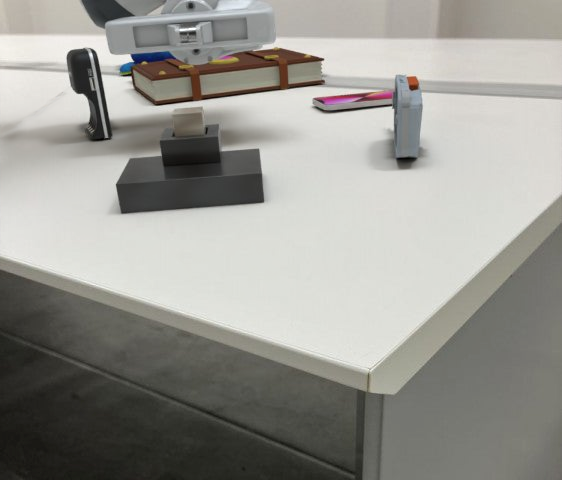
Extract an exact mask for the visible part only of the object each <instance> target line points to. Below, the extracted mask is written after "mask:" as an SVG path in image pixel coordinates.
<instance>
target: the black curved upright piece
mask: <svg viewBox="0 0 562 480" xmlns="http://www.w3.org/2000/svg"><path fill="white" fill-rule="evenodd" d="M65 59H66V67H67V72H68V78H69V83H70V87H71V88H72V91H74V93H75V94H76V95H84V96H85V98H86V99H87V102H88V103H87V104H88V108H89V120H88V124H87V126H86V127H85V128H84V132H85V135H86V136H87V137H88V139H90V140H93V139H94V140H102V139H101V138H104V139H105V138H108V139H109V137H110V138H112V137H113V132H112V126H111V121H110V116H109V110H108V109H109V108H108V104H107V99H106V97H107V96H106V92H105V87H104V81H103V76H102V71H101V70H102V69H101V64H100V60H99V56H98V53H97V51H96V50H95V49H94V48H91V47H87V46H86V47H82V48H74V49H71V50H69V51H68V52H67V54H66V58H65Z"/></svg>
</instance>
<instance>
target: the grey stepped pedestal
mask: <svg viewBox="0 0 562 480" xmlns="http://www.w3.org/2000/svg"><path fill="white" fill-rule="evenodd" d="M205 128H206V133H205V135H191V136H178V137H175V133H174V126H173V127H164V128H163V132H162V134H161V136H160V139H159V140H158V141H159V147H160V155H155V156H142V157H140V156H139V157H130V158H129V159H128V161H127V163H126V165H125V167H124V168H123V170H122V171H121V174H120V175H119V177H118V179H117V181H116V182H115V189H116V194H117V198H118V204H119V210H120V213H121V214H133V213H147V212H159V211H171V210H172V211H173V210H183V209H196V208H197V209H199V208H210V207H224V206H225V207H226V206H236V205H237V206H238V205H248V204H250V205H251V204H261V203H265V194H264V181H263V180H264V179H263V170H262V160H261V152H260V151H261V150H260V148H247V149H235V150H233V149H232V150H223V144H222V135H221V126H220V124H219V123H213V124H205Z"/></svg>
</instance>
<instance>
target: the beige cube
mask: <svg viewBox="0 0 562 480" xmlns="http://www.w3.org/2000/svg"><path fill="white" fill-rule="evenodd" d="M171 118H172V125H173V127H174V133H175V137H178V136H191V135H205V133H206V128H205V125H206V121H205V112H204V106H194V107H193V106H190V107H180V108H178V107H177V108H173V111H172V114H171Z"/></svg>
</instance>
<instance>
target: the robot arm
mask: <svg viewBox="0 0 562 480" xmlns="http://www.w3.org/2000/svg"><path fill="white" fill-rule="evenodd" d="M78 1H79V3H80V5H81V7H82V9H83V11H84V13H85V14H86V15H87V17H88V18H89V19H90V20H91V21H92V23H93V24H94V25H95V27H97V28H100V29H103V30H104V32H105V37H106V42H107V47H108V52H109V53H110V54H111V55H115V56H123V55H124V56H125V55H130V54H139V53H152V52H165V51H169V52H170V53H171V54H172V55H173V56H174V57H175V58H177V59H178V60H180V61H182V62H184V63H187V64H191V65H201V64H205V63H208V62H210V61H212V60H214V59H215V60H217V59H220V58H222V57H224V56H227V55H230V54H236V53H241V52H248V51H257V50H262V48H264V47H263V46H266V45H272V44H274V43H275V42H276V40H277V39H276V38H277V37H276V18H275V17H276V16H275V10H274V8H273V6H271V4H270V3H268V2H266V1H263V0H78ZM159 8H162V9H161V12H160V14H159V13H158V14H151V13H152V12H154V11H156V10H157V9H159Z"/></svg>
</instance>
